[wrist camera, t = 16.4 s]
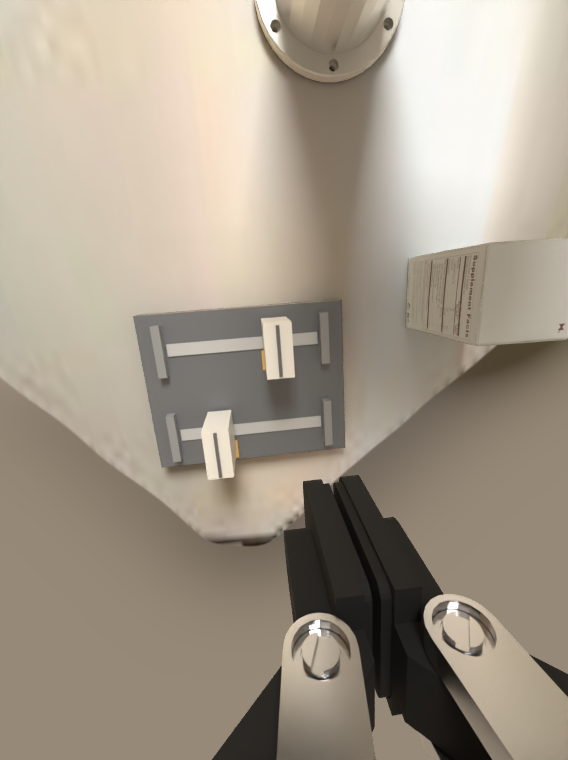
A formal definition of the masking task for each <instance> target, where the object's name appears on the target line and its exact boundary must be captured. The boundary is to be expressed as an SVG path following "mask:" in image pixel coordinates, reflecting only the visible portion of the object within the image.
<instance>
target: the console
mask: <svg viewBox="0 0 568 760" xmlns="http://www.w3.org/2000/svg"><path fill="white" fill-rule="evenodd" d="M284 316H286V317H287V318H288V319H289V320H290V321H291V322H292V338H293V353H294V369H295V377H293V378H282V379H271V380H267V375H266V369H265V360H264V349H263V338H262V326H261V318H272V317H284ZM133 318H134V323H135V328H136V334H137V339H138V344H139V350H140V355H141V360H142V366H143V371H144V376H145V381H146V387H147V392H148V397H149V403H150V408H151V413H152V419H153V424H154V429H155V435H156V440H157V445H158V450H159V456H160V461H161V466H162V468H163V467H172V466H181V465H190V464H199V463H205V457H204V450H203V443H202V437H201V430H202V427H203V424H204V421H205V419H206V416H207V413H208V412H213V411H223V410H231V412H232V420H233V428H234V436H235V445H236V459H245V458H254V457H263V456H272V455H281V454H291V453H300V452H309V451H318V450H327V449H336V448H345V423H344V381H343V339H342V300H337V299H336V300H323V301H310V302H297V303H284V304H271V305H258V306H245V307H232V308H219V309H206V310H194V311H181V312H168V313H155V314H142V315H137V316H133Z"/></svg>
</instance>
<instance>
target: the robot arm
mask: <svg viewBox="0 0 568 760" xmlns="http://www.w3.org/2000/svg"><path fill="white" fill-rule="evenodd" d="M404 1H405V0H254V3H255V7H256V11H257V16H258V20H259V22H260V25H261V28H262V30H263V33H264V35H265V37H266V39H267V41H268V42H269V44H270V46H271V47H272V49H273V51H274V52H275V53H276V54H277V55H278V56H279V58H280V59H281V60H282V61H283V62H284V63H285V64H286V65H287V66H289V67H290V68H291V69H292V70H294V71H295V72H296V73H298V74H300V75H302V76H304V77H306V78H308V79H312V80H316V81H320V82H339V81H344V80H348V79H350V78H353V77H355V76H357V75H359V74H361V73H362V72H364V71H365V70H366V69H368V68H369V67H370V66H372V65H373V64H374V62H375V61H376V60H377V59H378V58H379V57H380V56H381V55H382V53H383V52H384V50H385V48H386V47H387V45H388V44H389V42H390V40H391V39H392V37H393V35H394V33H395V31H396V29H397V27H398V24H399V21H400V17H401V14H402V11H403V7H404ZM385 29H386V30H385ZM273 31H276V32H277V33H275V32H273ZM330 69H333V70H334V72H333V71H331V70H330ZM333 489H334V494H333V492H332V490H331V487H330V485H329V483H328V484H323V482H322V480H321V479H320V480H311V481H303V494H304V509H305V525H306V528H302V529H294V530H286V531H284V542H285V554H286V564H287V574H288V581H289V582H288V583H289V591H290V598H291V606H292V614H293V622H294V624H293V625H292V626H291V627H290V629H289V630H288V632H287V634H286V636H285V640H284V645H283V657H282V666H281V667H280V669H279V670H278V671H277V673H276V674H275V675H274V677H273V678H272V679H271V681H270V682H269V683H268V685H267V686H266V688H265V689H264V690H263V691H262V693H261V694H260V696H259V697H258V698H257V700H256V701H255V702H254V704H253V705H252V706H251V708H250V709H249V711H248V712H247V713H246V714H245V716H244V717H243V719H242V720H241V721H240V723H239V724H238V725H237V727H236V728H235V729H234V731H233V732H232V734H231V735H230V736H229V737H228V739H227V740H226V742H225V743H224V744H223V745H222V747H221V748H220V750H219V751H218V752H217V754H216V755H215V756H214V758H213V759H212V760H376V758H375V751H374V745H373V738H372V731H373V729H374V726H375V725H374V723H375V722H374V719H375V718H374V717H375V715H374V713H375V707H374V706H375V705H374V704H375V701H374V699H375V690H376V693H377V695H378V697H379V698H383V697H386V699H387V701H388V704H389V708H390V711H391V714H392V716H393V715H398V714H402V715H403V718H404V720H405V722H406V723H407V724H409V725H410V726H411V727H413V728H414V729H415V730H417V731H418V732H419V737H420V740H421V743H422V745H423V748H424V750H425V752H426V754H427V756H428V758H429V760H568V674H566V673H564V672H563V671H561V670H559V669H557V668H555V667H553V666H551V665H549V664H547V663H545V662H543V661H541V660H539V659H537V658H535V657H533V656H531V655H529V654H528V653H527V652H526V651H525V650H524V649H523V648H522V646H521V645H520V644H519V643H518V642H517V641H516V640H515V639H514V638H513V637H512V635H511V634H510V633H509V632H508V631H507V630H506V629H505V628H504V627H503V626H502V624H501V623H500V622H499V621H498V620H497V619H496V618H495V617H494V616H493V615H492V614H491V613H490V612H489V611H488V610H486V609H485V608H484V607H483V606H481V605H480V604H478V603H476V602H475V601H473V600H471V599H468V598H466V597H463V596H460V595H453V594H445V595H444V594H443V592H442V591H441V589H440V588H439V586H438V584H437V583H436V582H435V580H434V578H433V577H432V575H431V573H430V572H429V570H428V569H427V567H426V565H425V564H424V562H423V561H422V559H421V557H420V556H419V554H418V553H417V551H416V549H415V548H414V546H413V545H412V543H411V541H410V540H409V538H408V537H407V535H406V533H405V532H404V530H403V529H402V527H401V525H400V524H399V522H398V521H397V520H396V519H395V518H394V517H390V518H383V517H382V515H381V513H380V512H379V510H378V508H377V506H376V505H375V503H374V501H373V499H372V498H371V496H370V494H369V492H368V491H367V489H366V487H365V485H364V484H363V482H362V480H361V478H360V477H359V475H355V476H346V477H340V478H339V482H337V483H334V485H333Z"/></svg>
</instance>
